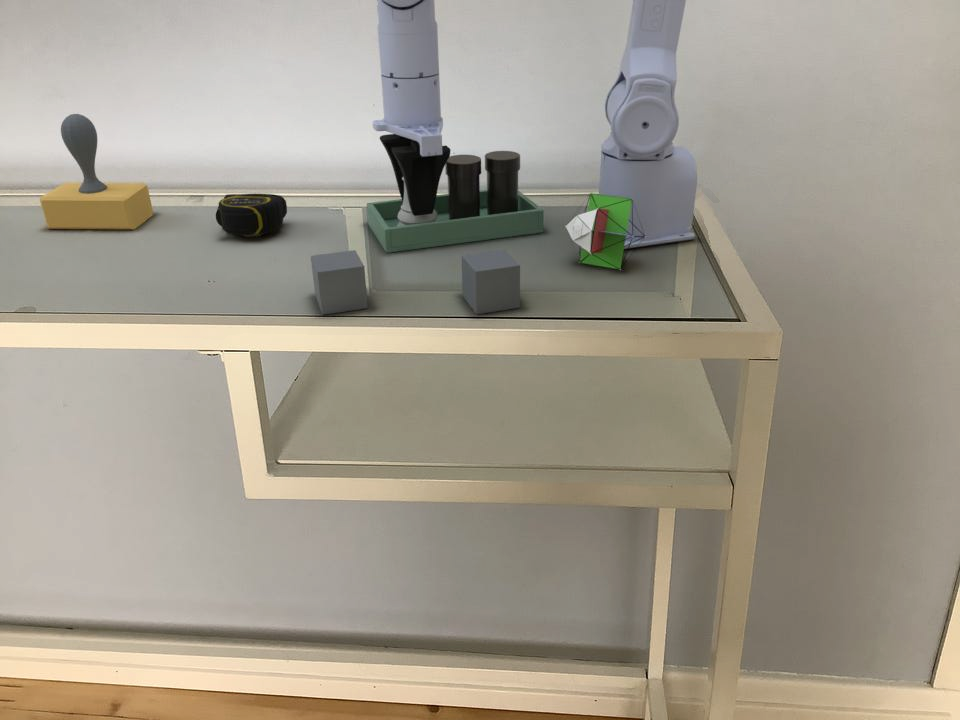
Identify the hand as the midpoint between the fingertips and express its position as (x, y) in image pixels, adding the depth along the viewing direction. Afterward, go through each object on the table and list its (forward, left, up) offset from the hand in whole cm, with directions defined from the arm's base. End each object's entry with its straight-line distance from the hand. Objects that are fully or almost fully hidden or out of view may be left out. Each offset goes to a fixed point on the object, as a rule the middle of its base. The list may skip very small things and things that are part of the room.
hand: (417, 207), depth 86 cm
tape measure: (+17, -7, -3) cm, 19 cm away
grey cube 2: (-2, +20, -3) cm, 20 cm away
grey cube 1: (+11, +15, -3) cm, 19 cm away
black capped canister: (-10, 0, -2) cm, 10 cm away
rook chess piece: (0, 0, -2) cm, 3 cm away
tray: (-4, 0, -3) cm, 5 cm away
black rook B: (-5, 0, -2) cm, 6 cm away
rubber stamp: (+33, -16, -3) cm, 37 cm away
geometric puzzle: (-15, +15, -3) cm, 21 cm away
